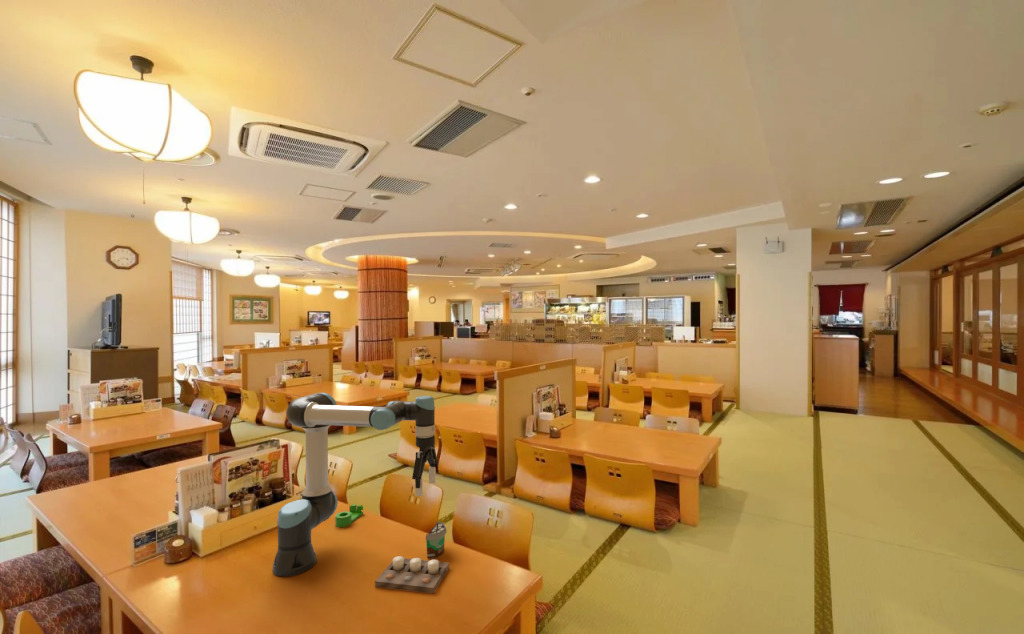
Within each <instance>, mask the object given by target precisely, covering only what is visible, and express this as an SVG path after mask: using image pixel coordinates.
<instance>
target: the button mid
mask: <svg viewBox="0 0 1024 634" xmlns="http://www.w3.org/2000/svg"><path fill="white" fill-rule="evenodd" d="M410 559H411V560H410V572H413V573H420V571H421V560H422V558H420V557H414V558H410Z"/></svg>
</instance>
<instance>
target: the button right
mask: <svg viewBox="0 0 1024 634" xmlns="http://www.w3.org/2000/svg"><path fill="white" fill-rule="evenodd" d="M428 561H429V562H428V574H431V575H438V572H439V562H440V561H439V560H438V559H431V560H428Z"/></svg>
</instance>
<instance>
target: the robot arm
mask: <svg viewBox="0 0 1024 634" xmlns="http://www.w3.org/2000/svg"><path fill="white" fill-rule="evenodd" d="M435 410H436V407H435V398H434V397H433V396H431V395H420V396H417V397H415V400H414V401H406V400H403V401H402V400H394V401H393V400H392V401H391V400H390V401H388V403H387V404H386V405H385V406H367V405H366V406H364V405H361V406H360V405H337V403H336V400H335V398H334V397H332V395H331V394H329V393H326V392H317V393H313V394H307V395H305V396H301V397H297V398H295V399H293V400H292V401H290V403H289V404H288V406H287V408H286V412H285V414H286V419H287V421H288V422H289V424H291V425H292V426H294V427H298V428H301V429H302V430H304V431H305V432H304V433H305V435H304V436H305V488H304V490H302V492H301V499H297V500H293V501H290V502H288V503H286V504H284V505H283V506H282V507H281V508H279V511H278V514H277V521H276V524H277V550H276V554H275V556H274V560H273V563H272V573H273V574H274V575H275V576H277V577H283V578H284V577H294V576H297V575H301V574H303V573H305V572H308V571H309V570H311V569H312V568H313V567H314V566H315V565H316V563H317V554H316V551H315V550H314V547H313V544H312V530H314V529H315V528H316V527H318V526H320V524H322V523H324V522H325V521H327V520H328V519H329V518H330V517H331V516H332V515H334V513H335V512H336V510H337V507H338V497H337V495H336V494H335V492H334V491H333V488H332V486H331V485H330V484H329V457H328V456H329V447H328V446H329V443H328V441H329V440H328V437H329V436H328V435H329V434H328V432H329V431H328V430H329V428H330V427H331V426H339V427H340V426H343V427H367V428H374V429H375V430H377V431H384V430H387V429H390V428H391V427H392V426H395V425H398V424H399V423H400V422H403V421H413V422H414V421H415V436H416V437H415V446H416V447H417V448H419V451H416V452H415V457H414V458H415V459H414V465H413V471H412V476H411V477H412V478H411V479H412V480H414V494H415V497H423V496H424V494H423V493H424V492H423V490H424V489H423V487H424V486H423V485H424V483H423V482H424V481H423V479H424V478H423V472H424V469H425V466H426V463H428V465H429V467H428V483H429V484H436V483H437V481H436V480H437V477H436V475H437V474H436V473H437V472H436V470H437V468H436V467H438V466H439V464H438V455H437V453H436V447H435V446H436V445H435V444H436V436H435V434H436V430H437V428H436V427H435V420H436V419H435V415H436V414H435Z"/></svg>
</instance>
